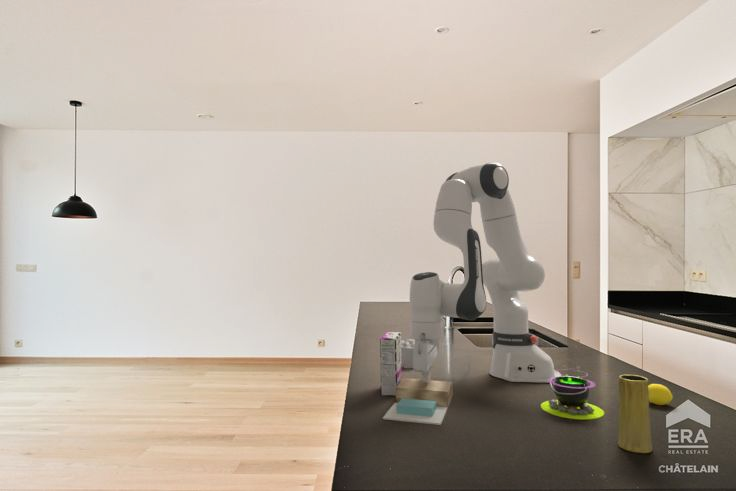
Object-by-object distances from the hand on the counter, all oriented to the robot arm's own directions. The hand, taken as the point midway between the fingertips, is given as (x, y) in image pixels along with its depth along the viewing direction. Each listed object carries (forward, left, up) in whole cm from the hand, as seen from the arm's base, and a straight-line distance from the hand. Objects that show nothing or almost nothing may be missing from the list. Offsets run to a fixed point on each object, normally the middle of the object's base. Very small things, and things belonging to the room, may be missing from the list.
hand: (426, 380), depth 128 cm
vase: (-47, +21, -5) cm, 51 cm away
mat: (0, +13, -5) cm, 14 cm away
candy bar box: (+11, -4, -5) cm, 13 cm away
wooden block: (0, +1, -5) cm, 5 cm away
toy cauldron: (-37, -1, -5) cm, 38 cm away
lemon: (-60, -12, -5) cm, 61 cm away
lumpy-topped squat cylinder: (+12, -39, -5) cm, 41 cm away
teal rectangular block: (0, +13, -3) cm, 13 cm away
